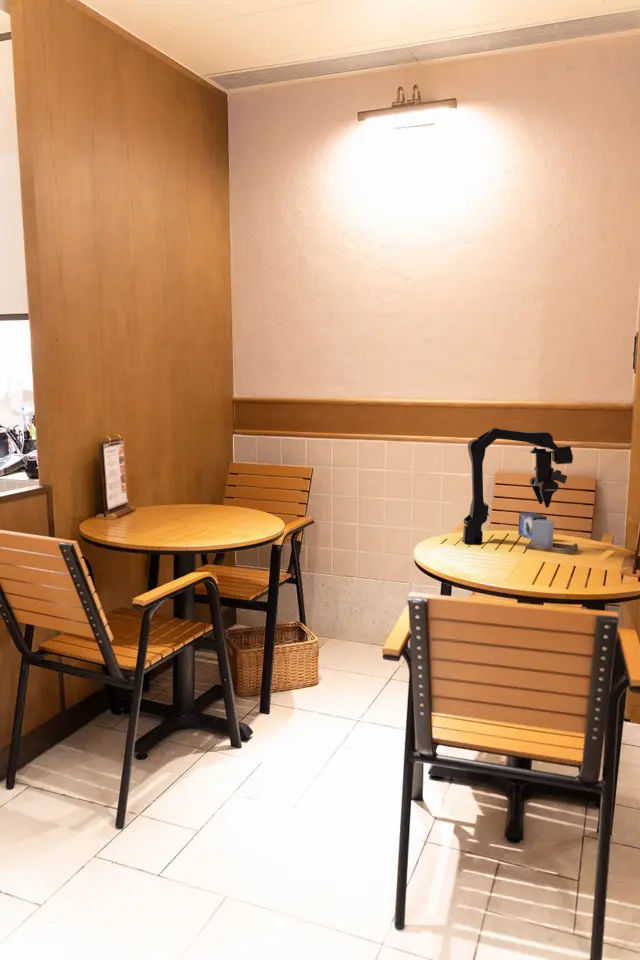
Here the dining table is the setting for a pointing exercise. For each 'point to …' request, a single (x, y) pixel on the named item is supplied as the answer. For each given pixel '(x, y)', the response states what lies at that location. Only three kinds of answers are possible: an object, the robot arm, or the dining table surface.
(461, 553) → the dining table surface
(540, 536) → the block
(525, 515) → the small box
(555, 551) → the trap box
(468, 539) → the robot arm
